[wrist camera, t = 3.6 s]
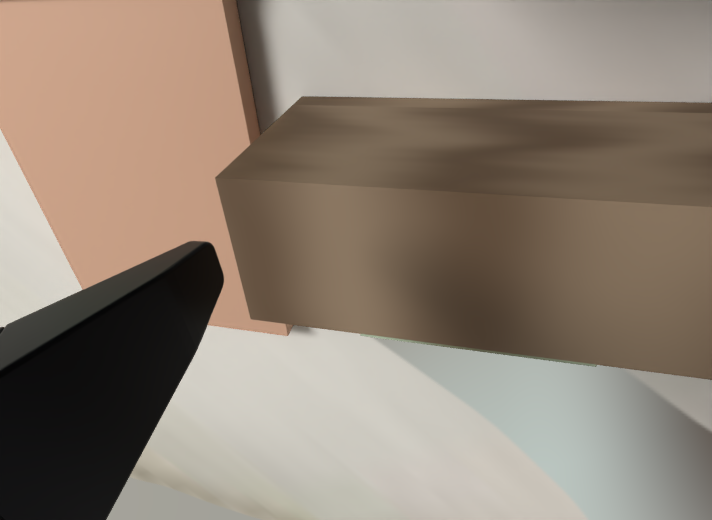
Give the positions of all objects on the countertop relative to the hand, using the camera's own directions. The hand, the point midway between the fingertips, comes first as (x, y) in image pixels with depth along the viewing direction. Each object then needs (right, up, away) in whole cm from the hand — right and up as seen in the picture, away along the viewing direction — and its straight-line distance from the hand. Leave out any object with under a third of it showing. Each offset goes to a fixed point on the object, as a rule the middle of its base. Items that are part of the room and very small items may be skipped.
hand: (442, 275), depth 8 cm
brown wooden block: (+3, +3, +10) cm, 11 cm away
